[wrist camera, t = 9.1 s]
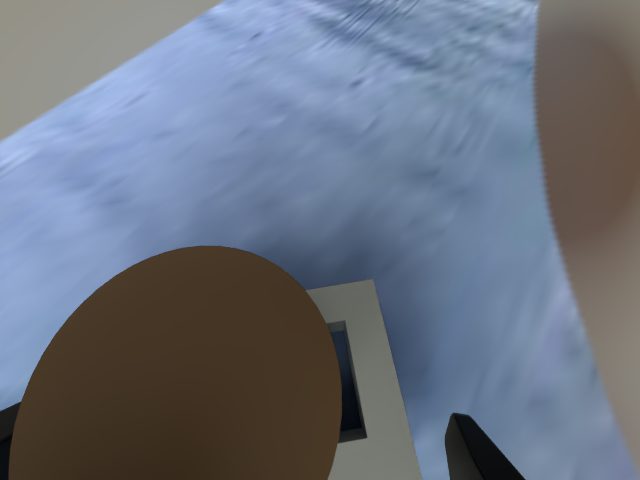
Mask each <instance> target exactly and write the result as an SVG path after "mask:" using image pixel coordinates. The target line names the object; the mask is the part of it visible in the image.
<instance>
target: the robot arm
mask: <svg viewBox="0 0 640 480" xmlns="http://www.w3.org/2000/svg"><path fill="white" fill-rule="evenodd" d="M20 404H21V402H19V403H17V404H15V405H13V406H10V407H8V408H6V409H4V410H2V411H0V480H9V476H8V475H9V460H10V448H11V442H12V437H13V431H14V426H15V421H16V418H17V415H18V411H19V408H20ZM445 448H446V455H447V462H448V468H449V475H450V480H525V478H524V477H523V476H522V475H521V474H520V473H519V472H518V470H517V469H516V468H515V467H514V466H513V465H512V463H511V462H510V461H509V460H508V459H507V458H506V457H505V455H504V454H503V453H502V452H501V451H500V450H499V449H498V447H497V446H496V445H495V444H494V443H493V442H492V441H491V439H490V438H489V437H488V436H487V435H486V434H485V432H484V431H483V430H482V429H481V428H480V427H479V426H478V424H477V423H476V422H475V421H474V420H473V419H472V418H471V417H470V416H469V415H466V414H460V413H452V415H451V416H450V420H449V423H448V427H447V430H446V434H445Z"/></svg>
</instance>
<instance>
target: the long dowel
mask: <svg viewBox="0 0 640 480" xmlns="http://www.w3.org/2000/svg"><path fill="white" fill-rule="evenodd" d="M341 416H342V385H341V377H340V368H339V362H338V358H337V354H336V350H335V346H334V342H333V340H332V337H331V334H330V332H329V329H328V326H327V324H326V322H325V320H324V318H323V316H322V314H321V313H320V311H319V309H318V307H317V305H316V304H315V303H314V301H313V300H312V299H311V297H310V296H309V294H308V293H307V292H306V290H305V289H304V288H303V287H302V286H301V285H300V284H299V283H298V282H297V281H296V280H295V279H294V278H293V277H292V276H290V275H289V274H288V273H287V272H285V271H284V270H283V269H282V268H280V267H279V266H277V265H275V264H274V263H272V262H270V261H269V260H267V259H265V258H262V257H260V256H258V255H255V254H253V253H251V252H247V251H243V250H240V249H236V248H230V247H222V246H195V247H186V248H181V249H176V250H172V251H168V252H164V253H162V254H159V255H156V256H153V257H150V258H148V259H146V260H143V261H141V262H139V263H137V264H135V265H133V266H131V267H129V268H128V269H126V270H124V271H123V272H121V273H119V274H118V275H116V276H115V277H113V278H112V279H110V280H109V281H108V282H106V283H105V284H104V285H102V286H101V287H100V288H98V289H97V290H96V291H95V292H94V293H93V294H92V295H91V296H89V297H88V298H87V299H86V300H85V301H84V302H83V303H82V304H81V305H80V306H79V307H78V308H77V309H76V310H75V311H74V312H73V314H72V315H71V316H70V317H69V318H68V319H67V320H66V322H65V323H64V324H63V326H62V327H61V328H60V329H59V331H58V332H57V333H56V335H55V336H54V338H53V339H52V341H51V342H50V344H49V345H48V347H47V348H46V350H45V352H44V353H43V355H42V357H41V358H40V360H39V362H38V364H37V366H36V368H35V370H34V372H33V374H32V376H31V378H30V381H29V383H28V386H27V388H26V391H25V393H24V396H23V398H22V401H21V404H20V408H19V411H18V415H17V418H16V421H15V426H14V431H13V437H12V442H11V448H10V460H9V475H8V476H9V480H328V477H329V474H330V472H331V469H332V466H333V462H334V457H335V453H336V449H337V444H338V440H339V433H340V424H341Z"/></svg>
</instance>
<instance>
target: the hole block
mask: <svg viewBox="0 0 640 480" xmlns="http://www.w3.org/2000/svg"><path fill="white" fill-rule="evenodd" d="M306 292H307V293H308V294H309V296H310V297H311V299H312V300H313V301H314V303H315V304H316V305H317V307H318V309H319V311H320V313H321V314H322V316H323V318H324V320H325V322H326V324H327V326H328V329H329V332H330V333H332V332H338V331H343V330H344V334H345V339H346V345H347V350H348V355H349V361H350V366H351V372H352V377H353V382H354V388H355V393H356V399H357V404H358V409H359V415H360V420H361V425H362V428H358V429H352V430H347V431H341V432H340V433H339V440H338V444H337V449H336V453H335V457H334V462H333V466H332V469H331V472H330V474H329V477H328V480H422V477H421V473H420V469H419V465H418V460H417V456H416V452H415V448H414V444H413V440H412V436H411V432H410V428H409V424H408V419H407V415H406V411H405V407H404V403H403V399H402V395H401V391H400V387H399V383H398V378H397V374H396V370H395V366H394V362H393V358H392V354H391V350H390V346H389V342H388V338H387V333H386V329H385V325H384V321H383V317H382V313H381V309H380V305H379V301H378V297H377V292H376V288H375V284H374V280H373V279H370V280H364V281H358V282H352V283H346V284H340V285H334V286H328V287H322V288H316V289H310V290H306Z"/></svg>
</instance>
